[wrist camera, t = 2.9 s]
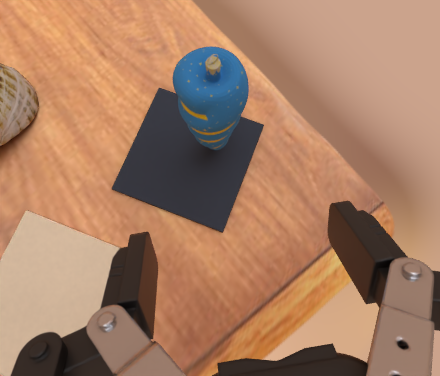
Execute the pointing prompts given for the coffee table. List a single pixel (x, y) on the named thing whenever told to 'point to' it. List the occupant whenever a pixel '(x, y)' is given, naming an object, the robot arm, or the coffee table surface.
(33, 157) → the coffee table surface
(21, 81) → the seashell
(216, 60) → the ornament
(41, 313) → the cream mat
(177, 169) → the slate mat
